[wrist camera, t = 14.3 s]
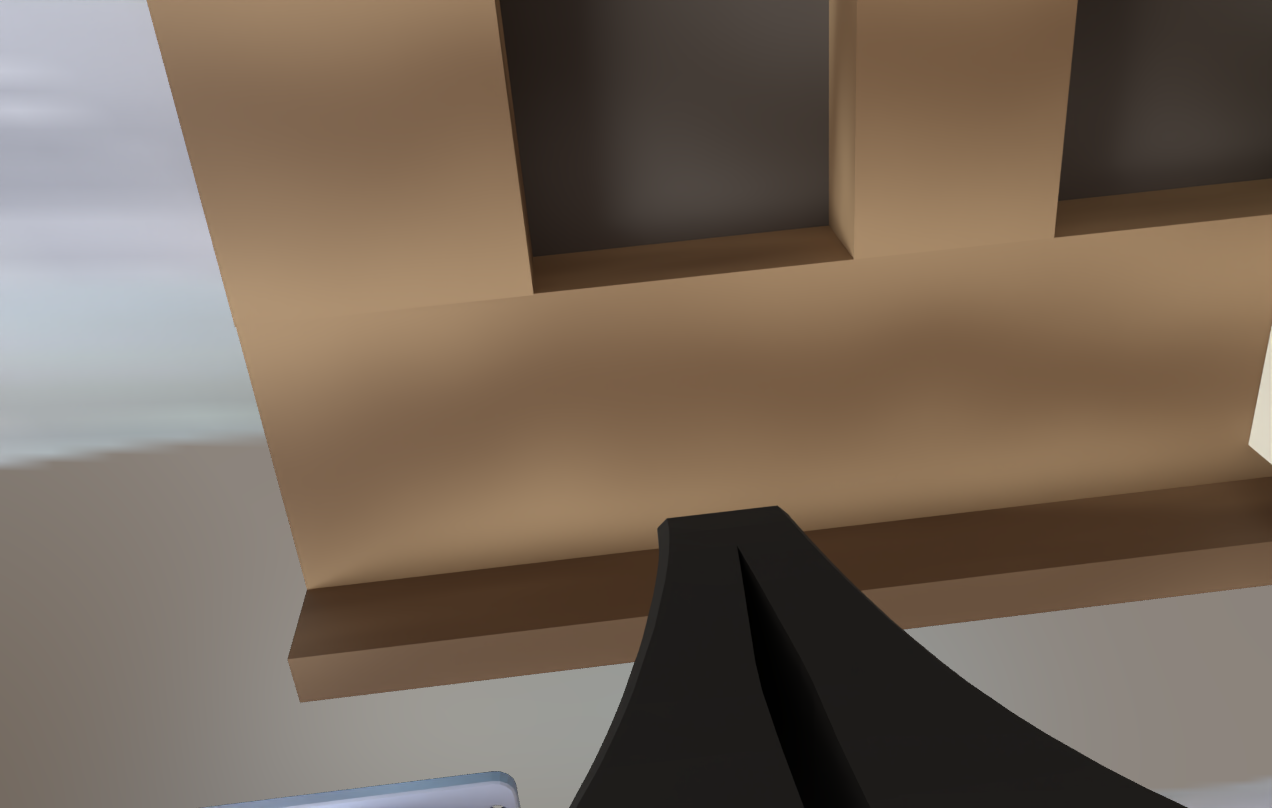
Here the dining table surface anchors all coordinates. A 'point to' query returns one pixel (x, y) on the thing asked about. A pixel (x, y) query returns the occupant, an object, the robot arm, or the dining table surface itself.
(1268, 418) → the cream block
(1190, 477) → the trap board
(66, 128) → the dining table surface
